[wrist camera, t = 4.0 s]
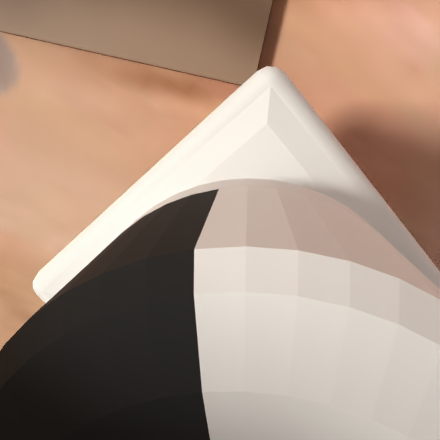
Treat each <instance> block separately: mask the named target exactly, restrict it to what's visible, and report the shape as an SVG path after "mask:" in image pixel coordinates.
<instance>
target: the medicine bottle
mask: <svg viewBox="0 0 440 440" xmlns="http://www.w3.org/2000/svg"><path fill="white" fill-rule="evenodd" d="M33 289H34V291H35V292H36V294H37V295H38V296H39V297H40V298H41V299H42V300H43V301H44V302H45V303H46V304H45V305H44V306H42V307H41V308H40V309H39V310H38V311H37V312H36V313H35V314H34V315H33V316H32V317H31V318H30V319H29V320H28V321H27V322H26V323H25V324H24V325H23V326H22V327H21V328H20V329H19V330H18V331H17V332H16V333H15V334H14V335H13V336H12V337H11V338H10V340H9V341H8V342H7V343H6V344H5V345H4V346H3V348H2V349H1V351H0V440H440V271H439V270H438V268H437V267H436V266H435V265H434V263H433V262H432V261H431V259H430V258H429V257H428V256H427V254H426V253H425V252H424V250H423V249H422V248H421V247H420V245H419V244H418V243H417V241H416V240H415V239H414V238H413V236H412V235H411V234H410V232H409V231H408V230H407V229H406V227H405V226H404V225H403V223H402V222H401V221H400V220H399V218H398V217H397V216H396V214H395V213H394V212H393V211H392V209H391V208H390V207H389V205H388V204H387V203H386V202H385V200H384V199H383V198H382V196H381V195H380V194H379V193H378V191H377V190H376V189H375V187H374V186H373V185H372V184H371V182H370V181H369V180H368V179H367V177H366V176H365V175H364V173H363V172H362V171H361V170H360V168H359V167H358V166H357V164H356V163H355V162H354V161H353V159H352V158H351V157H350V155H349V154H348V153H347V152H346V150H345V149H344V148H343V146H342V145H341V144H340V143H339V141H338V140H337V139H336V137H335V136H334V135H333V134H332V132H331V131H330V130H329V128H328V127H327V126H326V125H325V123H324V122H323V121H322V119H321V118H320V117H319V116H318V114H317V113H316V112H315V110H314V109H313V108H312V107H311V105H310V104H309V103H308V101H307V100H306V99H305V98H304V96H303V95H302V94H301V92H300V91H299V90H298V89H297V87H296V86H295V85H294V83H293V82H292V81H291V80H290V78H289V77H288V76H287V74H286V73H285V72H283V71H282V70H281V69H279V68H278V67H271V66H266V67H264V68H262V69H260V70H258V71H256V72H255V73H254V74H253V75H252V76H251V77H250V78H249V79H248V80H247V81H246V82H245V83H243V84H242V85H241V86H240V87H239V88H238V89H237V90H236V91H235V92H234V93H233V94H231V95H230V96H229V97H228V98H227V99H226V100H225V101H224V102H223V103H222V104H221V105H219V106H218V107H217V108H216V109H215V110H214V111H213V112H212V113H211V114H210V115H209V116H208V117H206V118H205V119H204V120H203V121H202V122H201V123H200V124H199V125H198V126H197V127H196V128H194V129H193V130H192V131H191V132H190V133H189V134H188V135H187V136H186V137H185V138H184V139H182V140H181V141H180V142H179V143H178V144H177V145H176V146H175V147H174V148H173V149H172V150H170V151H169V152H168V153H167V154H166V155H165V156H164V157H163V158H162V159H161V160H160V161H159V162H157V163H156V164H155V165H154V166H153V167H152V168H151V169H150V170H149V171H148V172H147V173H145V174H144V175H143V176H142V177H141V178H140V179H139V180H138V181H137V182H136V183H135V184H133V185H132V186H131V187H130V188H129V189H128V190H127V191H126V192H125V193H124V194H123V195H122V196H120V197H119V198H118V199H117V200H116V201H115V202H114V203H113V204H112V205H111V206H110V207H108V208H107V209H106V210H105V211H104V212H103V213H102V214H101V215H100V216H99V217H98V218H96V219H95V220H94V221H93V222H92V223H91V224H90V225H89V226H88V227H87V228H86V229H85V230H83V231H82V232H81V233H80V234H79V235H78V236H77V237H76V238H75V239H74V240H73V241H71V242H70V243H69V244H68V245H67V246H66V247H65V248H64V249H63V250H62V251H61V252H59V253H58V254H57V255H56V256H55V257H54V258H53V259H52V260H51V261H50V262H49V263H48V264H46V265H45V266H44V267H43V268H42V269H41V270H40V271H39V272H38V274H37V275H36V277H35V279H34V281H33Z"/></svg>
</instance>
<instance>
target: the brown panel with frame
mask: <svg viewBox="0 0 440 440" xmlns="http://www.w3.org/2000/svg"><path fill="white" fill-rule="evenodd" d="M272 2H273V0H0V32H5V33H9V34H14V35H18V36H23V37H27V38H32V39H36V40H41V41H45V42H49V43H54V44H58V45H63V46H67V47H72V48H76V49H81V50H85V51H90V52H94V53H99V54H103V55H107V56H112V57H116V58H121V59H125V60H130V61H134V62H139V63H143V64H148V65H152V66H157V67H161V68H165V69H170V70H174V71H179V72H183V73H188V74H192V75H197V76H201V77H206V78H210V79H215V80H219V81H223V82H228V83H232V84H237V85H242V84H243V83H245V82H246V81H247V80H248V79H249V78H250V77H251V76H252V75H253V74H254V73H255V72H256V71H257V68H258V63H259V59H260V54H261V50H262V46H263V41H264V37H265V32H266V28H267V24H268V19H269V15H270V10H271V6H272Z"/></svg>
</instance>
